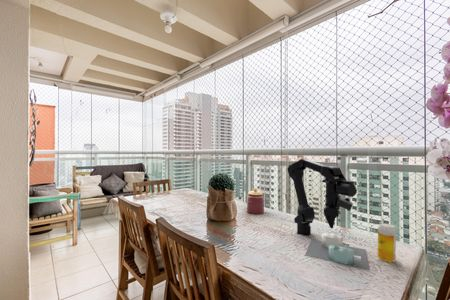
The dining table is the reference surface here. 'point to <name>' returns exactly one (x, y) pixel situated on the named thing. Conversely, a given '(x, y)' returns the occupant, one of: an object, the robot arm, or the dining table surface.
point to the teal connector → (342, 255)
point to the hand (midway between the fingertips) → (332, 225)
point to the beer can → (386, 242)
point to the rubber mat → (322, 253)
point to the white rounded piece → (333, 240)
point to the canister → (255, 202)
